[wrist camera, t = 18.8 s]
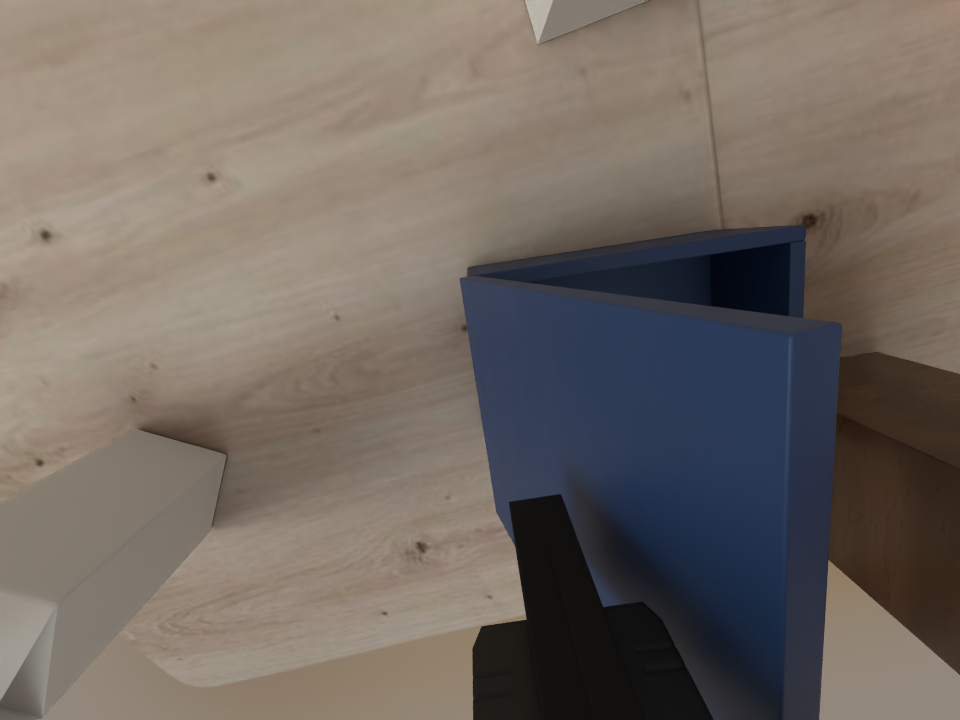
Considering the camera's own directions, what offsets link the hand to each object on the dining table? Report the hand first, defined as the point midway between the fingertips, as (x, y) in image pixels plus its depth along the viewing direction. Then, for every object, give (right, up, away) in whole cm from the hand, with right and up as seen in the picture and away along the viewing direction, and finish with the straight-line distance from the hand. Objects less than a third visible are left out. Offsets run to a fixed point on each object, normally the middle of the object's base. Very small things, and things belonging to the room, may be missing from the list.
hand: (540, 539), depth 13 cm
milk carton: (-26, -4, +23) cm, 34 cm away
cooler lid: (+1, +1, +3) cm, 4 cm away
